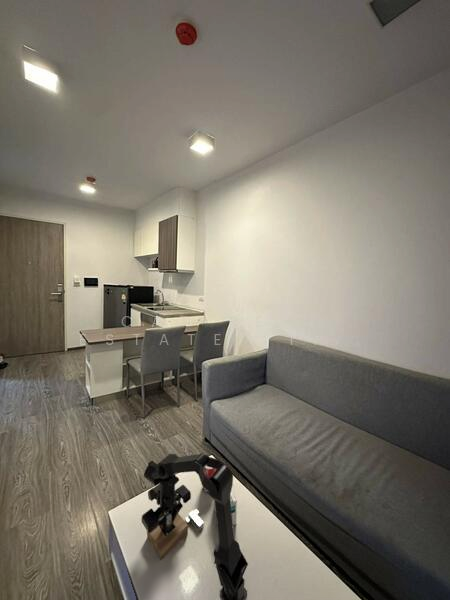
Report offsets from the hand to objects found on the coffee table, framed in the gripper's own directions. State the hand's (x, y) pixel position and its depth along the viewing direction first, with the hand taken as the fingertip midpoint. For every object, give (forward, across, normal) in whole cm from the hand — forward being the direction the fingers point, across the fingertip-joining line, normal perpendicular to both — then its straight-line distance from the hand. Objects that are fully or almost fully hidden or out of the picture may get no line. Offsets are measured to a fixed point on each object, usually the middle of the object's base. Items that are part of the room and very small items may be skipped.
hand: (167, 525), depth 91 cm
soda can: (+5, -26, -5) cm, 27 cm away
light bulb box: (+5, -22, +10) cm, 24 cm away
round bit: (+2, 0, 0) cm, 2 cm away
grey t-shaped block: (+5, -11, +4) cm, 13 cm away
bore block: (+4, 0, 0) cm, 4 cm away
